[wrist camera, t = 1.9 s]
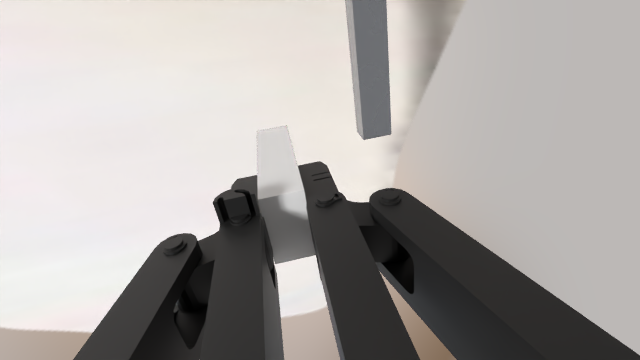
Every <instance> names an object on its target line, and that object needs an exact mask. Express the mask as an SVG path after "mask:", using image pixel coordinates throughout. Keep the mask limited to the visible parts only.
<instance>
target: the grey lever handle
mask: <svg viewBox="0 0 640 360" xmlns="http://www.w3.org/2000/svg"><path fill="white" fill-rule="evenodd" d="M345 4H346V15H347V26H348V37H349V48H350V59H351V70H352V81H353V91H354V102H355V113H356V124H357V132H358V133H359V135H360V136H361V137H362V139H363V140H366V139H371V138H376V137H380V136H385V135H390V134H391V113H390V86H389V60H388V34H387V8H386V0H345Z"/></svg>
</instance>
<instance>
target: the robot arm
mask: <svg viewBox="0 0 640 360" xmlns="http://www.w3.org/2000/svg"><path fill="white" fill-rule="evenodd" d="M213 205H214V207H215V210H216V213H217V216H218V219H219V222H220V229H219V231H218V232H216V233H215V234H213V235H211V236H209V237H207V238H204V239H202V240H199V241H197V238H196V236H194V235H192V234H188V233H183V234H177V235H174V236H171V237H169V238H167V239H166V240H164V241H162V242H161V243H160V244H159V245H158V246H157V247H156V248H155V249H154V250H153V252H152V253H151V254H150V256H149V257H148V258H147V260H146V261H145V263H144V264H143V265H142V267H141V268H140V269H139V271H138V272H137V273H136V275H135V276H134V278H133V279H132V280H131V282H130V283H129V284H128V286H127V287H126V288H125V290H124V291H123V293H122V294H121V295H120V297H119V298H118V299H117V301H116V302H115V303H114V305H113V306H112V307H111V309H110V310H109V312H108V313H107V314H106V316H105V317H104V318H103V320H102V321H101V322H100V324H99V325H98V327H97V328H96V329H95V331H94V332H93V333H92V335H91V336H90V337H89V339H88V340H87V342H86V343H85V344H84V346H83V347H82V348H81V350H80V351H79V352H78V354H77V355H76V357H75V358H74V359H73V360H199V359H200V360H284V353H283V341H282V329H281V318H280V306H279V294H278V283H277V273H276V270H275V266H274V261H275V264H278V263H282V262H287V261H291V260H296V259H300V258H304V257H309V256H313V255H316V258H317V263H318V268H319V273H320V278H321V281H322V284H323V288H324V293H325V297H326V301H327V305H328V310H329V314H330V318H331V322H332V326H333V330H334V335H335V339H336V343H337V347H338V352H339V356H340V360H420V358H419V356H418V354H417V352H416V350H415V348H414V346H413V343H412V341H411V339H410V337H409V335H408V332H407V330H406V328H405V326H404V324H403V322H402V319H401V317H400V315H399V313H398V311H397V308H396V306H395V304H394V302H393V300H392V298H391V295H390V293H389V291H388V289H387V287H386V285H385V282H384V280H383V278H382V276H381V274H380V272H381V273H382V274H383V276H384V277H386V279H387V280H388V281H389V282H390V284H391V285H392V286H393V287H394V288H395V289H396V290H397V292H398V293H399V294H400V295H401V296H402V297H403V298H404V300H405V301H406V302H407V303H408V304H409V305H410V306H411V308H412V309H413V310H414V311H415V312H416V313H417V315H418V316H419V317H420V318H421V319H422V320H423V321H424V322H425V324H426V325H427V326H428V327H429V328H430V329H431V330H432V332H433V333H434V334H435V335H436V336H437V337H438V339H439V340H440V341H441V342H442V343H443V344H444V346H445V347H446V348H447V349H448V350H449V351H450V352H451V354H452V355H453V356H454V357H455V358H456V359H457V360H640V355H638V354H637V353H636V352H634V351H633V350H631V349H630V348H628V347H627V346H625V345H624V344H623V343H621V342H620V341H618V340H617V339H616V338H614V337H612V336H611V335H610V334H608V333H607V332H606V331H604V330H603V329H601V328H600V327H599V326H597V325H596V324H594V323H593V322H591V321H590V320H588V319H587V318H586V317H584V316H583V315H581V314H580V313H579V312H577V311H576V310H574V309H573V308H571V307H570V306H569V305H567V304H566V303H564V302H563V301H561V300H560V299H559V298H557V297H556V296H554V295H553V294H551V293H550V292H549V291H547V290H546V289H544V288H543V287H541V286H540V285H538V284H537V283H536V282H534V281H533V280H531V279H530V278H529V277H527V276H526V275H524V274H523V273H521V272H520V271H519V270H517V269H515V268H514V267H513V266H511V265H510V264H509V263H507V262H506V261H504V260H503V259H502V258H500V257H499V256H497V255H496V254H494V253H493V252H491V251H490V250H489V249H487V248H486V247H484V246H483V245H481V244H480V243H479V242H477V241H476V240H474V239H473V238H471V237H470V236H469V235H467V234H466V233H464V232H463V231H461V230H460V229H459V228H457V227H456V226H454V225H453V224H452V223H450V222H449V221H447V220H446V219H444V218H443V217H441V216H440V215H439V214H437V213H436V212H434V211H433V210H432V209H430V208H429V207H427V206H426V205H424V204H423V203H422V202H420V201H419V200H417V199H416V198H414V197H413V196H412V195H410V194H409V193H407V192H405V191H403V190H400V189H395V188H386V189H382V190H378V191H377V192H375V193H373V194H372V195H371V196H370V200H369V202H364V203H360V202H351V201H348V200H346V198H345V196H344V195H343V194H342V193H340V192H338V189H337V187H336V185H335V183H334V180H333V178H332V176H331V174H330V172H329V169H328V167H327V165H325V164H323V163H322V162H320V161H319V162H314V163H309V164H304V165H299V166H298V165H297V161H296V157H295V154H294V150H293V146H292V142H291V138H290V135H289V131H288V127H287V125H286V126H281V127H276V128H270V129H265V130H260V131H257V175H255V176H250V177H245V178H240V179H237V180H236V181H235V182H234V184H233V185H232V187H231V189H230V190H227V191H225V192H223V193H221V194H220V195H218V196H217V197H216V198H215V199H214V201H213ZM273 257H274V260H273ZM379 271H380V272H379Z"/></svg>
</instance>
